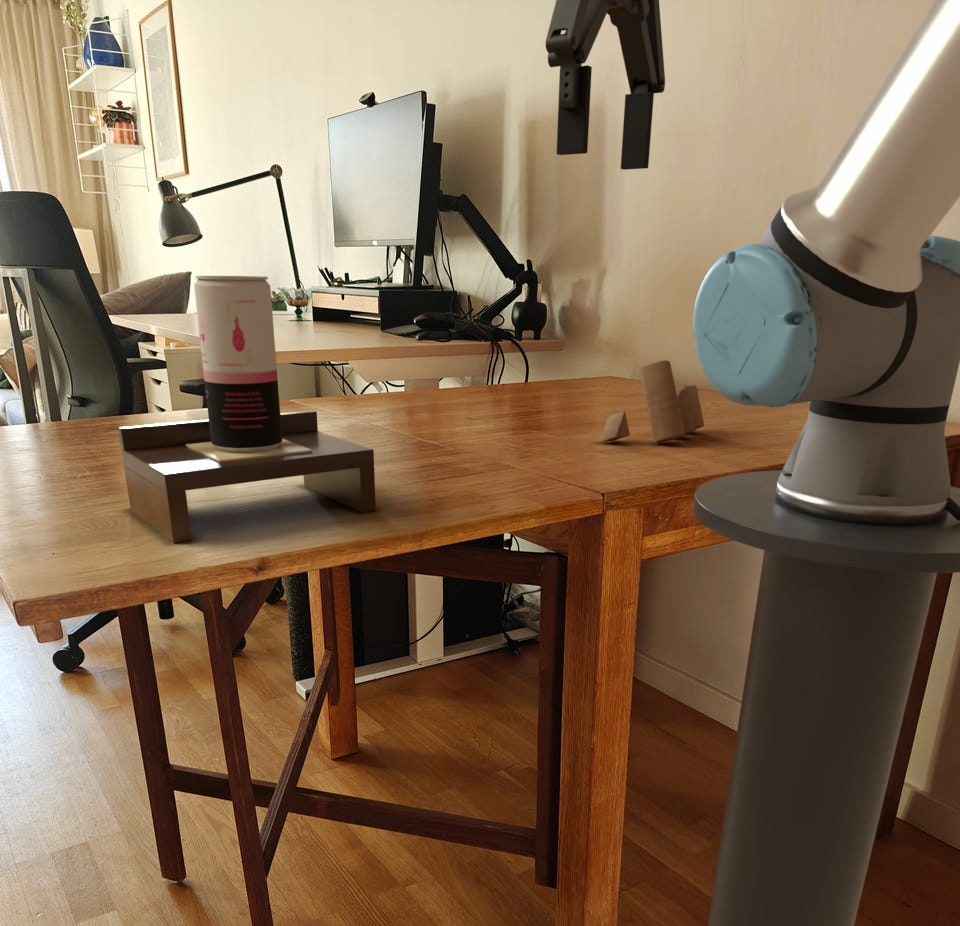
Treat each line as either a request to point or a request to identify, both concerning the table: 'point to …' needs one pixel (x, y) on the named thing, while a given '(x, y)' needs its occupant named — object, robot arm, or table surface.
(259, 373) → the beverage can
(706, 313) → the robot arm
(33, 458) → the table surface
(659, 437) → the wooden block set
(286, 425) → the shelf
